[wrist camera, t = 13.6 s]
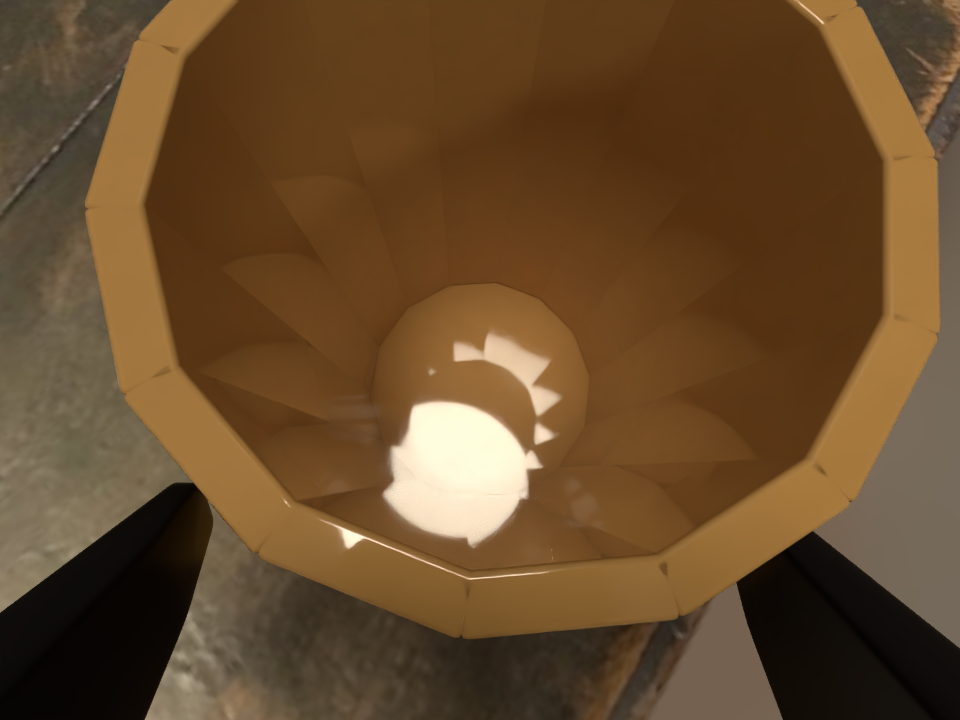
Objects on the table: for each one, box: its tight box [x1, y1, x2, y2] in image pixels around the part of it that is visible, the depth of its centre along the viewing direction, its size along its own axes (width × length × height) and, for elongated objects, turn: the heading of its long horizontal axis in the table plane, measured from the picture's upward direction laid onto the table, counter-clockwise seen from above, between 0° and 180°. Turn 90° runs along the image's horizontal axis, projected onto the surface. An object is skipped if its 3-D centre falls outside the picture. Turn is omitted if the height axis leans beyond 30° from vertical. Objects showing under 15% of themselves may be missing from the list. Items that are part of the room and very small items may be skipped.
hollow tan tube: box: [85, 0, 941, 640], centre depth 11 cm, size 7×8×13 cm
